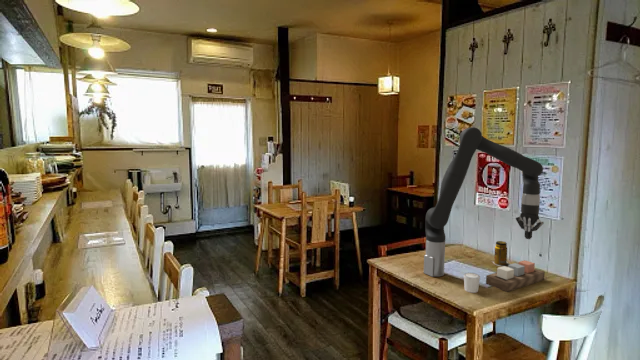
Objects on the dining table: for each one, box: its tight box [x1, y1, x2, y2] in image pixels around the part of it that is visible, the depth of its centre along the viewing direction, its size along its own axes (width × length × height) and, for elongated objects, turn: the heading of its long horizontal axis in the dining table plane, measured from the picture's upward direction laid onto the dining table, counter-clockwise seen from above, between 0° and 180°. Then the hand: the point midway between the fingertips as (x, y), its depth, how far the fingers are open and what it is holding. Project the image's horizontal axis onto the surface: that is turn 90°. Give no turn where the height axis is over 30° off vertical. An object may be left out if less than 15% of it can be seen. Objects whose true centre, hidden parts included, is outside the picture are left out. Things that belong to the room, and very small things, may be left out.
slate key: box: [507, 262, 525, 276], centre depth 180 cm, size 5×5×4 cm
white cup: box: [463, 272, 481, 294], centre depth 171 cm, size 7×7×7 cm
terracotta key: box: [517, 260, 536, 273], centre depth 184 cm, size 5×5×4 cm
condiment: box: [490, 240, 511, 267], centre depth 205 cm, size 7×8×12 cm
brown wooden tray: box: [485, 268, 545, 293], centre depth 181 cm, size 28×11×4 cm, turn 120°
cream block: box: [496, 266, 514, 280], centre depth 176 cm, size 5×5×4 cm
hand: (528, 238), depth 182 cm, fingers closed
